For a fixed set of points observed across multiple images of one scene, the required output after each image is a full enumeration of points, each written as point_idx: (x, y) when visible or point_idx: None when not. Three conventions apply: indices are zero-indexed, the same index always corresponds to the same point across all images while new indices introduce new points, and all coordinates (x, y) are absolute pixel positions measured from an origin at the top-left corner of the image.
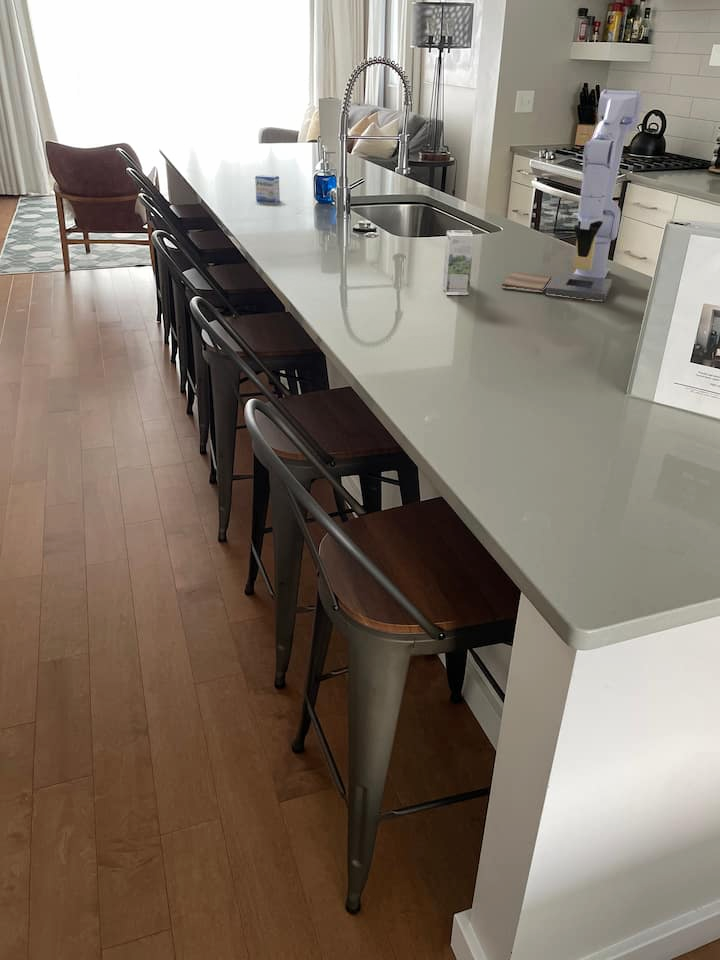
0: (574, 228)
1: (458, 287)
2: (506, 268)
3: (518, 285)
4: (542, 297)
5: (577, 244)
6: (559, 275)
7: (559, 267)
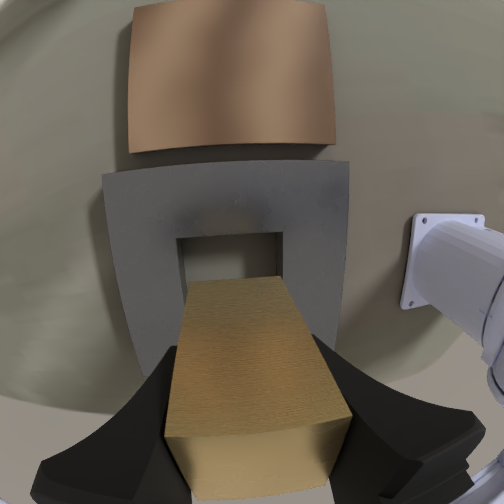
0: (38, 476)
1: None
2: (401, 4)
3: (133, 57)
4: (90, 172)
5: (140, 389)
6: (320, 180)
7: (473, 160)
